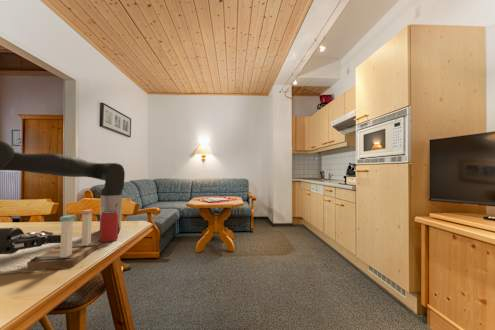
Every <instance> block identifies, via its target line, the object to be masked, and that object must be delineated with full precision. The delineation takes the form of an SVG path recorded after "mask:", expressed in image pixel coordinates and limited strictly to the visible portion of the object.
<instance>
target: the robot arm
mask: <svg viewBox="0 0 495 330" xmlns="http://www.w3.org/2000/svg"><path fill="white" fill-rule="evenodd" d="M0 171H16V172H20V171H21V172H27V173H28V172H29V173H34V174H42V175H43V174H44V175H51V176H59V177H67V178H68V177H70V178H71V177H72V178H83V177H84V178H92V179H96V180H101V181H104V187H103V188H101V189H100V207H99V209H100V210H99V218H100V217H101V214H102V212H104V211H114V210H116V211H117V214H118V222H119V227H120V230H121V229H122V207H123V206H122V204H123V203H122V198H123V196H122V195H123V191H124V186H125V176H126V175H125V174H126V173H125V169H124V166H123V165H122V164H120V163H117V162H105V163H104V162H92V161H88V160H85V159H82V158H79V157H77V156H73V155H68V154H60V153H55V152H54V153H53V152H52V153H51V152H50V153H49V152H47V153H45V152H44V153H43V152H42V153H23V152H22V153H21V152H16V151H15V149H14V146H13V145H11V143H10V142H8V141H6V140H3V139H0ZM117 202H118V204H119V205H118V204H117ZM115 204H117V206H116V209H115ZM48 244H61V234H54V233H53V232H50V231H46V230H41V231H40V232H35V231H28V232H26V233H24V231H23V230H22V229H21V228H20V227H0V255H12V254H15V253H17V252H18V251H19V250H26V249H31V248H39V247H42V246H43V245H45V246H46V245H48Z"/></svg>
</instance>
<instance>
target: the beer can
mask: <svg viewBox="0 0 495 330" xmlns="http://www.w3.org/2000/svg"><path fill="white" fill-rule="evenodd" d="M118 235H119V234H118V214H117V211H104V212H102V214H101V217H100V216H99V242H102V243H109V242H114V241H116V240H118V238H119V236H118Z"/></svg>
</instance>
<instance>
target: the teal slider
mask: <svg viewBox="0 0 495 330" xmlns="http://www.w3.org/2000/svg"><path fill="white" fill-rule="evenodd" d="M75 219H76V215H74V214H72V215H63V216H60V217H59V222H60V225H61V226H60V235H61V243H60V245H61V247H60V258H63V257H68V256H70V255H71V254H72V244H73V235H74V234H73V232H74V231H73V230H74V220H75Z"/></svg>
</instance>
